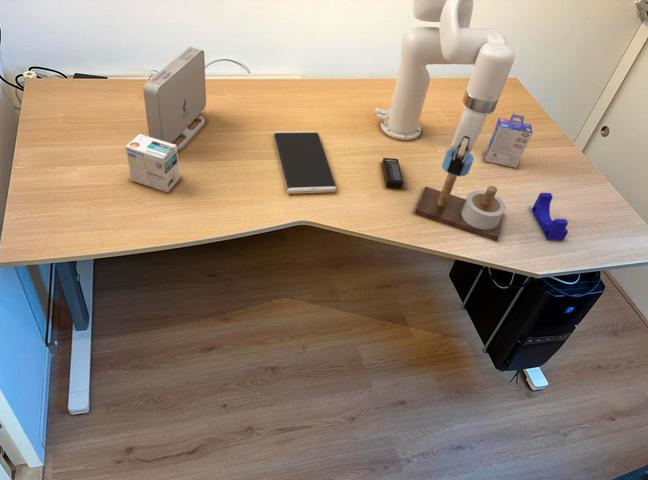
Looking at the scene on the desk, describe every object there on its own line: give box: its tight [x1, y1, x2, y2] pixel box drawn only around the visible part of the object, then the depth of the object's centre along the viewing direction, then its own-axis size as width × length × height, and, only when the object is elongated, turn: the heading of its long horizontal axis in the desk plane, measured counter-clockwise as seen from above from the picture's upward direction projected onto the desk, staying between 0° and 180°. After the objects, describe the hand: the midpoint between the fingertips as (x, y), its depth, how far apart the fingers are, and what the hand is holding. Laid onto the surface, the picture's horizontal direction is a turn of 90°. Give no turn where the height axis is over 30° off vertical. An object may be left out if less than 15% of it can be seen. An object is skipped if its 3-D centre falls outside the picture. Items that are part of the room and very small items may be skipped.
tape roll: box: [441, 147, 475, 177], centre depth 136 cm, size 7×7×4 cm
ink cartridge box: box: [484, 113, 533, 169], centre depth 161 cm, size 10×6×14 cm, turn 78°
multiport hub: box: [381, 157, 404, 190], centre depth 154 cm, size 4×11×2 cm, turn 2°
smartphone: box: [273, 131, 337, 195], centre depth 153 cm, size 13×27×2 cm, turn 11°
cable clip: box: [531, 192, 569, 241], centre depth 146 cm, size 12×4×6 cm, turn 5°
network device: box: [142, 46, 207, 151], centre depth 150 cm, size 26×9×20 cm, turn 161°
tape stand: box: [414, 173, 506, 241], centre depth 142 cm, size 22×11×11 cm, turn 69°
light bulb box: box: [125, 133, 181, 193], centre depth 138 cm, size 11×7×11 cm, turn 71°
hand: (456, 164), depth 137 cm, fingers closed on tape roll, 6 cm apart
